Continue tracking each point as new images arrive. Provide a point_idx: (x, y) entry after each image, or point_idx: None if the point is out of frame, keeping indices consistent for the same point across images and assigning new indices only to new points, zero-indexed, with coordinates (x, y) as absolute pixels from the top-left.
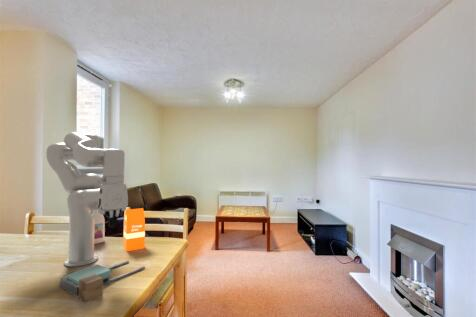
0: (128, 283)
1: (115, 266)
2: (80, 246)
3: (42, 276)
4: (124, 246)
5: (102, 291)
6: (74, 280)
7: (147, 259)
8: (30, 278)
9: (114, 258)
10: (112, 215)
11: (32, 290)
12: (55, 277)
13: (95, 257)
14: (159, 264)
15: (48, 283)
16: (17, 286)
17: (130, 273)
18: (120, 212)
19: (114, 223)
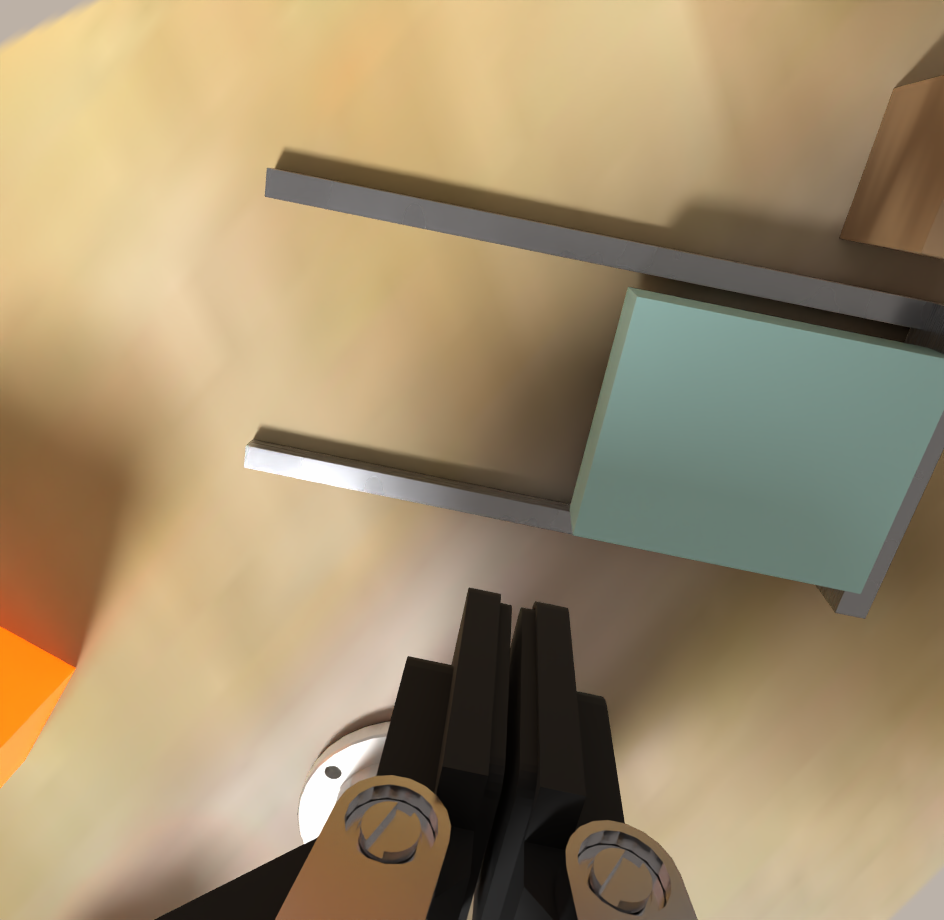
0: (607, 54)
1: (389, 472)
2: (469, 911)
3: (730, 824)
4: (27, 746)
5: (917, 82)
6: (922, 440)
7: (91, 329)
8: (779, 861)
9: (247, 635)
10: (581, 891)
11: (930, 696)
12: (716, 738)
13: (348, 759)
14: (109, 93)
15: (811, 697)
16: (900, 827)
17: (444, 203)
18: (200, 898)
19: (507, 663)
